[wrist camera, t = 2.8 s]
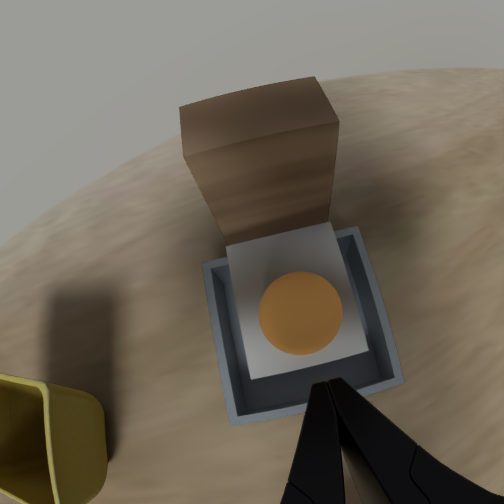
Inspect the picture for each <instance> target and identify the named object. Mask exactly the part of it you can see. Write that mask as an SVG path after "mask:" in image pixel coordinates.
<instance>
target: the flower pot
mask: <svg viewBox="0 0 504 504" xmlns="http://www.w3.org/2000/svg"><path fill="white" fill-rule="evenodd" d="M107 468H108V457H107V446H106V435H105V415H104V410H103V408H102V406H101V404H100V402H99V401H98V400H97V399H96V398H95V397H94V396H92V395H91V394H89V393H87V392H84V391H81V390H78V389H73V388H69V387H64V386H60V385H56V384H52V383H49V382H45V381H41V380H34V379H28V378H22V377H17V376H12V375H8V374H3V373H0V492H1V493H3V494H5V495H7V496H9V497H11V498H13V499H15V500H16V501H18V502H20V503H22V504H87V503H88V502H89V501H91V500H92V499H93V498H94V497H95V496H97V494H98V493H99V492H100V491H101V489H102V487H103V485H104V482H105V479H106V475H107Z"/></svg>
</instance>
